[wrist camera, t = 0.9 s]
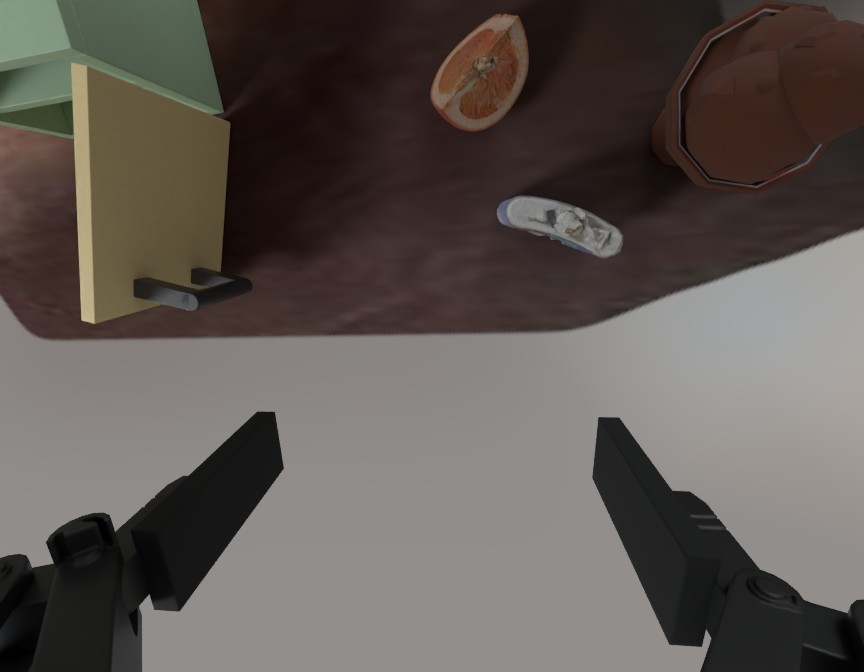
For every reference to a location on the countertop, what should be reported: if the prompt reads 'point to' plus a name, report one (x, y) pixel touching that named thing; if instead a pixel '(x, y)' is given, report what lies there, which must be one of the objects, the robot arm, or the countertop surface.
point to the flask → (562, 224)
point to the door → (147, 199)
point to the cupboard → (99, 55)
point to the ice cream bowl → (763, 97)
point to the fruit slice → (482, 75)
